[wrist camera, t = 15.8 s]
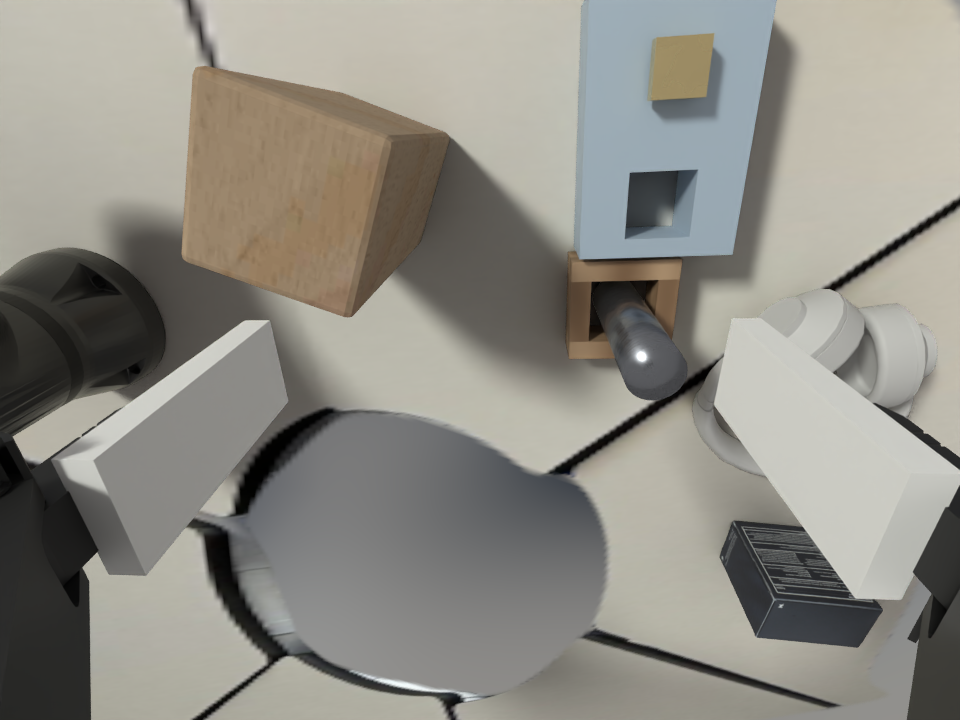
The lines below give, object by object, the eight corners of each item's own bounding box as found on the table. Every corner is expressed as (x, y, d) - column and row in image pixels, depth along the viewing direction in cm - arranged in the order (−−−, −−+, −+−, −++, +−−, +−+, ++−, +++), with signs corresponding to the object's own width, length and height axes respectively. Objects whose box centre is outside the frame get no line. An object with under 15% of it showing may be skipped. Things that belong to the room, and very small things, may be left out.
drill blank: (591, 317, 47) (621, 400, 32) (593, 277, 45) (626, 345, 31) (633, 317, 46) (683, 400, 32) (637, 276, 45) (691, 345, 30)
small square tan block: (633, 104, 38) (651, 100, 33) (637, 50, 36) (656, 37, 31) (681, 101, 38) (706, 97, 32) (687, 46, 36) (714, 33, 31)
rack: (565, 341, 48) (569, 358, 45) (568, 251, 44) (571, 262, 41) (658, 340, 47) (669, 357, 44) (669, 248, 43) (682, 259, 40)
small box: (716, 559, 59) (753, 641, 50) (731, 518, 56) (773, 597, 47) (805, 567, 58) (860, 652, 49) (825, 527, 56) (886, 609, 46)
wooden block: (452, 134, 41) (395, 139, 23) (419, 245, 45) (351, 323, 27) (338, 91, 40) (188, 60, 22) (316, 208, 45) (176, 262, 27)
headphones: (746, 259, 43) (660, 425, 54) (783, 298, 36) (676, 477, 48) (947, 301, 43) (820, 457, 54) (1019, 348, 37) (858, 514, 48)
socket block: (573, 246, 44) (579, 259, 40) (581, 6, 36) (589, -11, 32) (710, 241, 43) (732, 254, 38) (748, -7, 35) (781, -27, 31)
